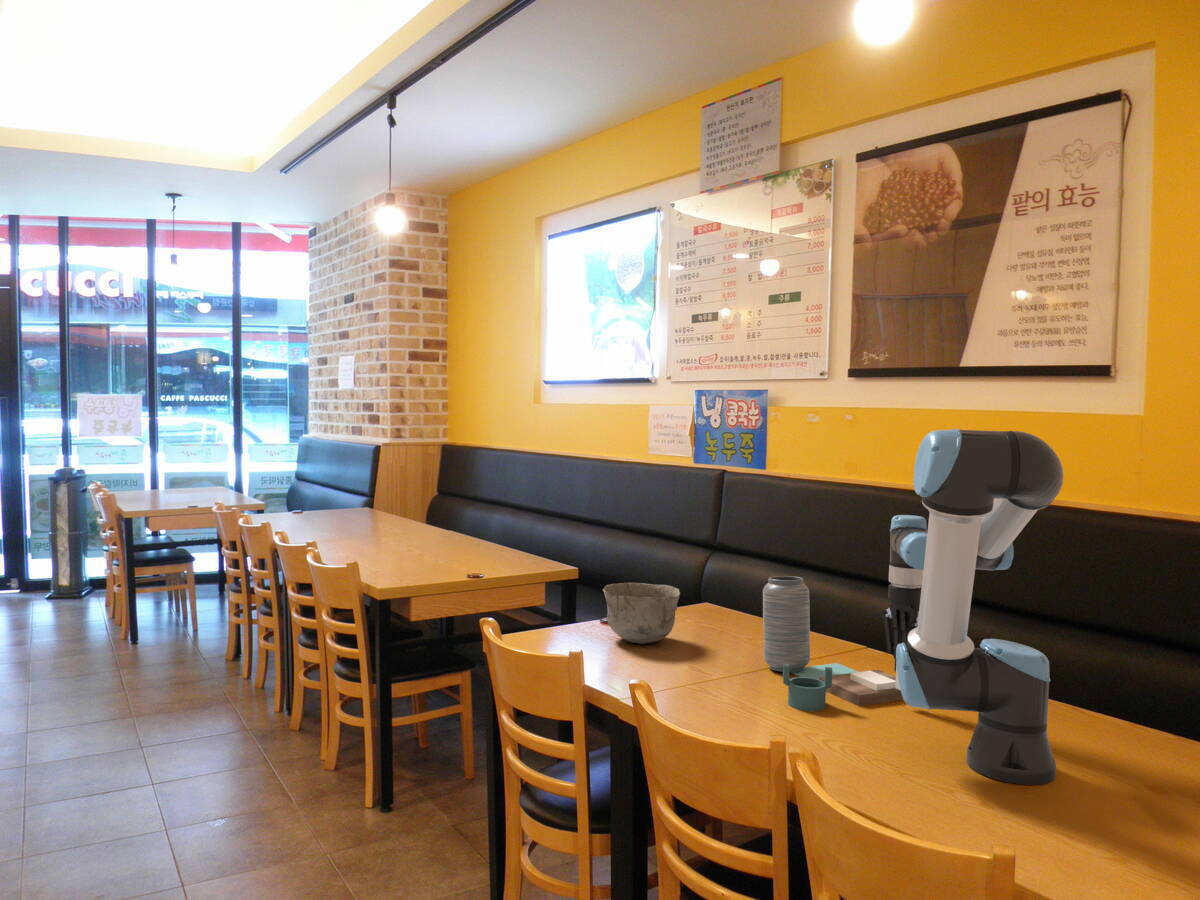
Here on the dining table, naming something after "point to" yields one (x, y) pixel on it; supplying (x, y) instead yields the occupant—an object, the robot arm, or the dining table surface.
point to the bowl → (641, 610)
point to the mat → (823, 670)
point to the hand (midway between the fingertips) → (902, 688)
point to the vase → (786, 623)
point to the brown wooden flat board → (861, 690)
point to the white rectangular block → (873, 680)
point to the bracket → (807, 690)
